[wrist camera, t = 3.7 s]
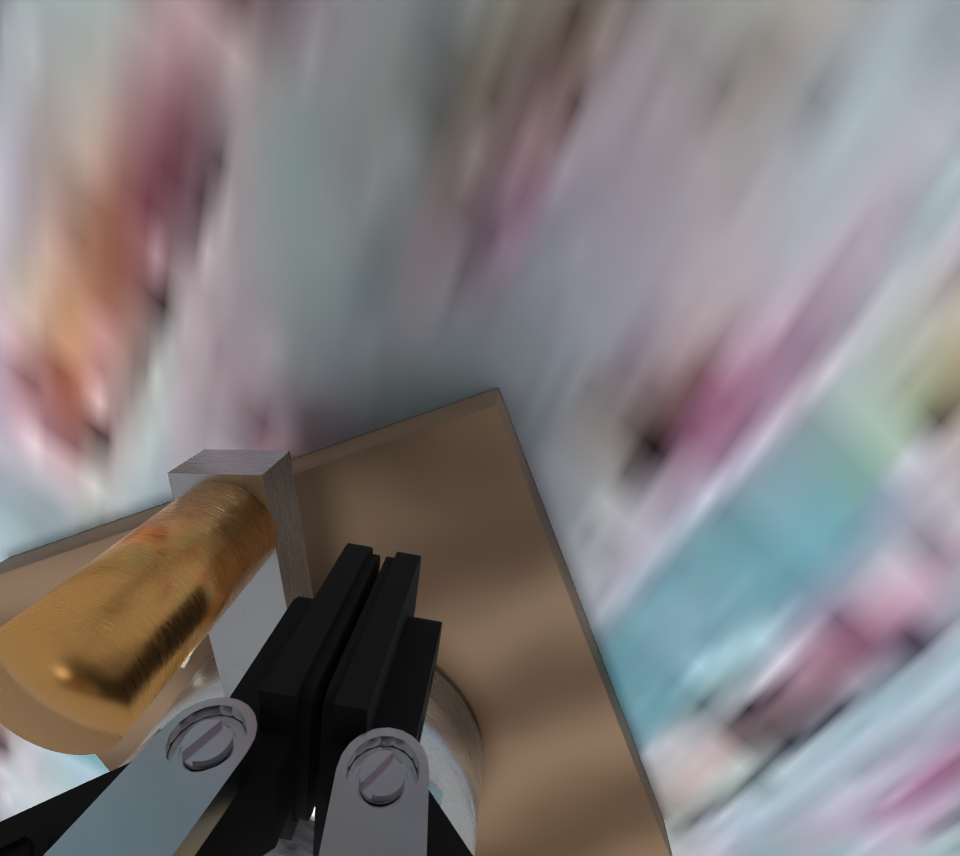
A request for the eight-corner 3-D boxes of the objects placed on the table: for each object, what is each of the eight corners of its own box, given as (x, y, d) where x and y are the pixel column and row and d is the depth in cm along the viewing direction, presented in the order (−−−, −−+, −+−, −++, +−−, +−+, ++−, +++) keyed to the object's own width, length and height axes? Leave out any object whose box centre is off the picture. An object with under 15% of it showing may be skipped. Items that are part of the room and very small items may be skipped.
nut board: (8, 558, 21) (-48, 592, 19) (498, 387, 17) (494, 407, 15) (262, 883, 27) (240, 934, 25) (663, 821, 23) (677, 877, 21)
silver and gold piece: (485, 854, 21) (461, 1210, 14) (219, 832, 23) (53, 1150, 15) (475, 427, 15) (418, 638, 7) (97, 423, 16) (-330, 602, 8)
